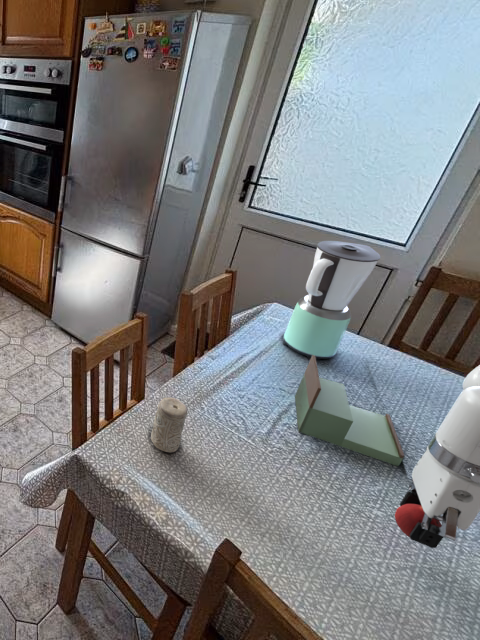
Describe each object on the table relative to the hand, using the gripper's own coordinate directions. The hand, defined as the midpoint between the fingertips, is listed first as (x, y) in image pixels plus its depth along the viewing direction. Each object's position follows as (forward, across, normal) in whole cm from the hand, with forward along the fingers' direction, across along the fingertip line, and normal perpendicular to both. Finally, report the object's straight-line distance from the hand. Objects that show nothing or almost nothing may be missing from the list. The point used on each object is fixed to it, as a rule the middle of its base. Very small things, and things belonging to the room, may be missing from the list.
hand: (416, 525), depth 74 cm
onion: (+3, 0, 0) cm, 3 cm away
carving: (+5, +1, +42) cm, 42 cm away
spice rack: (+6, +29, +6) cm, 30 cm away
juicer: (+7, +62, +11) cm, 63 cm away
